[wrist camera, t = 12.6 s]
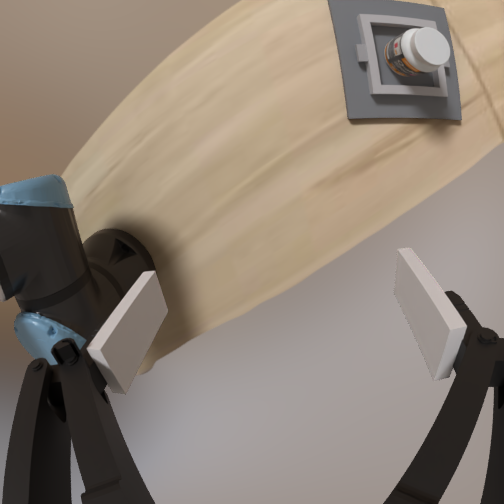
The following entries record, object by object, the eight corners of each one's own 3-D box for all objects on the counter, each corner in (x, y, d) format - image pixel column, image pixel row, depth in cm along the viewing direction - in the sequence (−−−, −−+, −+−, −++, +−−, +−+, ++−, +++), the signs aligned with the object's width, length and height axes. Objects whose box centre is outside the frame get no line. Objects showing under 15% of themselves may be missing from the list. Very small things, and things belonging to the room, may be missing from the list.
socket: (347, 118, 37) (352, 119, 35) (327, -1, 30) (330, -7, 27) (458, 119, 35) (467, 121, 32) (441, 9, 27) (449, 5, 25)
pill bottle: (384, 73, 33) (411, 65, 24) (381, 36, 31) (407, 17, 22) (421, 79, 32) (455, 74, 24) (418, 42, 30) (451, 29, 21)
